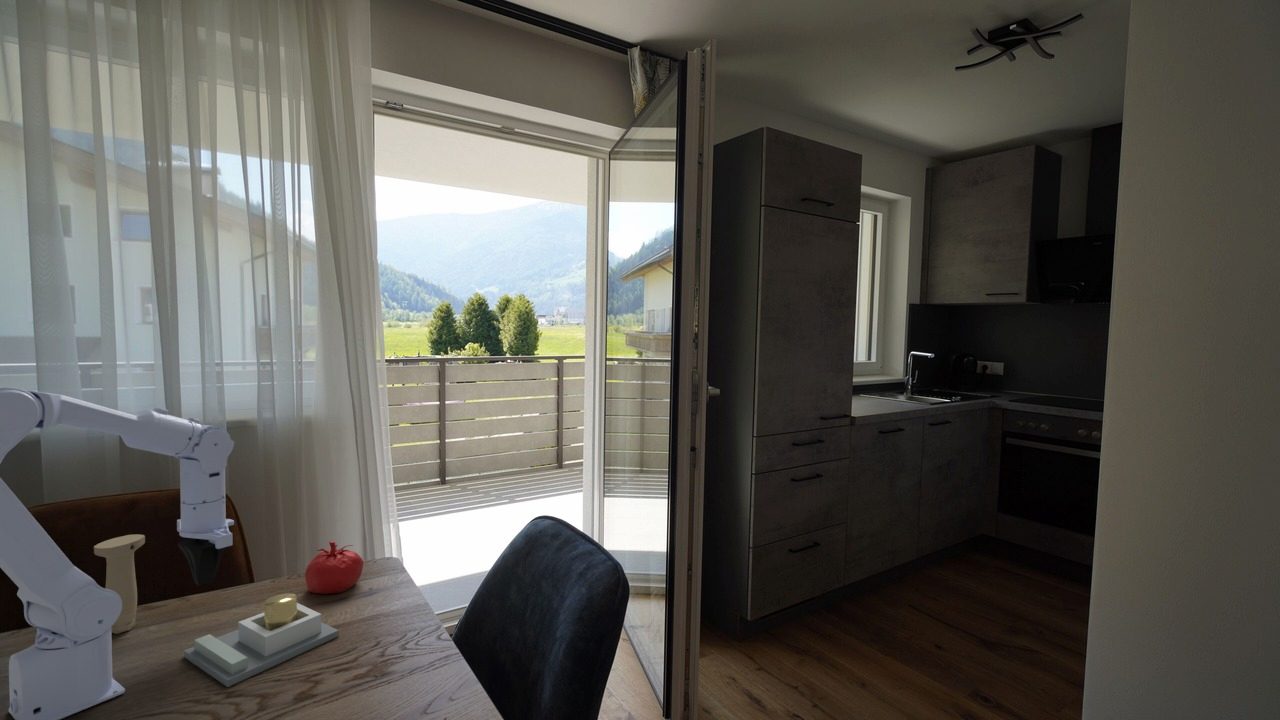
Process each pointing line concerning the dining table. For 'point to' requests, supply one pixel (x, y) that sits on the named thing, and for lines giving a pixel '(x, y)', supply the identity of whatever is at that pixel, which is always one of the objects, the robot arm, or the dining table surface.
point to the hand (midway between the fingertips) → (204, 582)
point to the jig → (258, 646)
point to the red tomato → (333, 570)
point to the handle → (122, 575)
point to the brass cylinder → (280, 611)
